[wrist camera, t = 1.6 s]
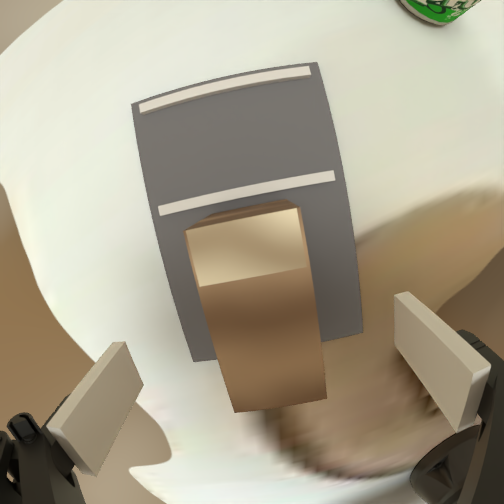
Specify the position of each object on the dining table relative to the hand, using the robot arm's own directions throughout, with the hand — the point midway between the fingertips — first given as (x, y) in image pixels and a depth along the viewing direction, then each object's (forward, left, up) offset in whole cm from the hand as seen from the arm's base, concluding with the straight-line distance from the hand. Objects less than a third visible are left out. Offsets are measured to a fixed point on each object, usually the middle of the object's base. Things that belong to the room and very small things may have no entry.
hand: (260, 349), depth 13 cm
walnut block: (0, 0, -12) cm, 12 cm away
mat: (+5, 0, -12) cm, 13 cm away
